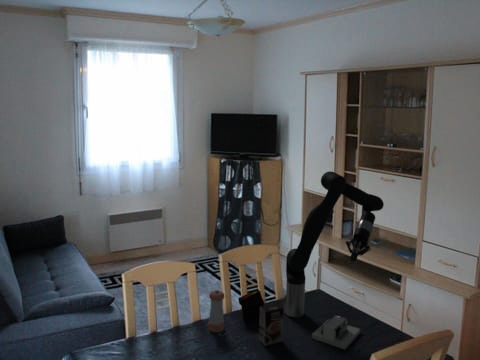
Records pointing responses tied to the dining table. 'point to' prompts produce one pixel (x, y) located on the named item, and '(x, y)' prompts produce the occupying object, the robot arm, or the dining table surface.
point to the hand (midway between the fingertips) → (352, 261)
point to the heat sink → (339, 331)
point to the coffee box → (271, 324)
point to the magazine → (251, 305)
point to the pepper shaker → (216, 311)
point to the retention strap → (336, 321)
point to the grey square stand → (330, 335)
